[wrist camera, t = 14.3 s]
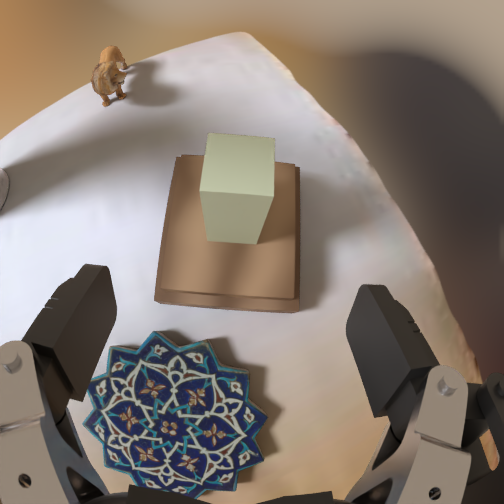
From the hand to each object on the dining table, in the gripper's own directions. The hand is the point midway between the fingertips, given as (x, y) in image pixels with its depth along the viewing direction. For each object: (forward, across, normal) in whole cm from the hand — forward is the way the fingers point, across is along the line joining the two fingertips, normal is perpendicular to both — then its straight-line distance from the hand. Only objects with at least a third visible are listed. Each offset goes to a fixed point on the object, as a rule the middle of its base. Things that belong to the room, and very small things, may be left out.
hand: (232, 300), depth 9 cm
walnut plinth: (+22, 0, +9) cm, 24 cm away
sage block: (+18, 0, +5) cm, 19 cm away
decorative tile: (+8, +5, +24) cm, 26 cm away
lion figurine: (+39, +20, -8) cm, 45 cm away
